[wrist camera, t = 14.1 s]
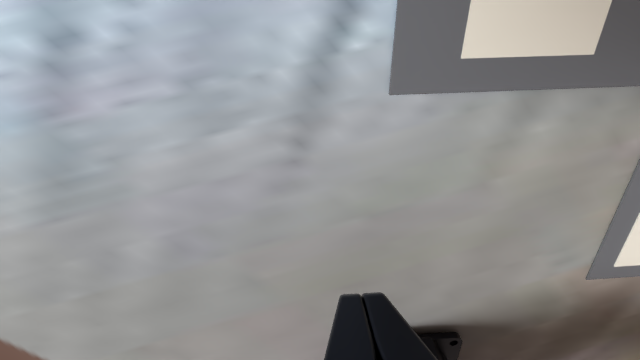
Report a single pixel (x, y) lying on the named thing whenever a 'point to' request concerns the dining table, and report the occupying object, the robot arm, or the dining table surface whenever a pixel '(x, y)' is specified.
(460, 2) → the label plates
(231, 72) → the dining table surface
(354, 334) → the robot arm
